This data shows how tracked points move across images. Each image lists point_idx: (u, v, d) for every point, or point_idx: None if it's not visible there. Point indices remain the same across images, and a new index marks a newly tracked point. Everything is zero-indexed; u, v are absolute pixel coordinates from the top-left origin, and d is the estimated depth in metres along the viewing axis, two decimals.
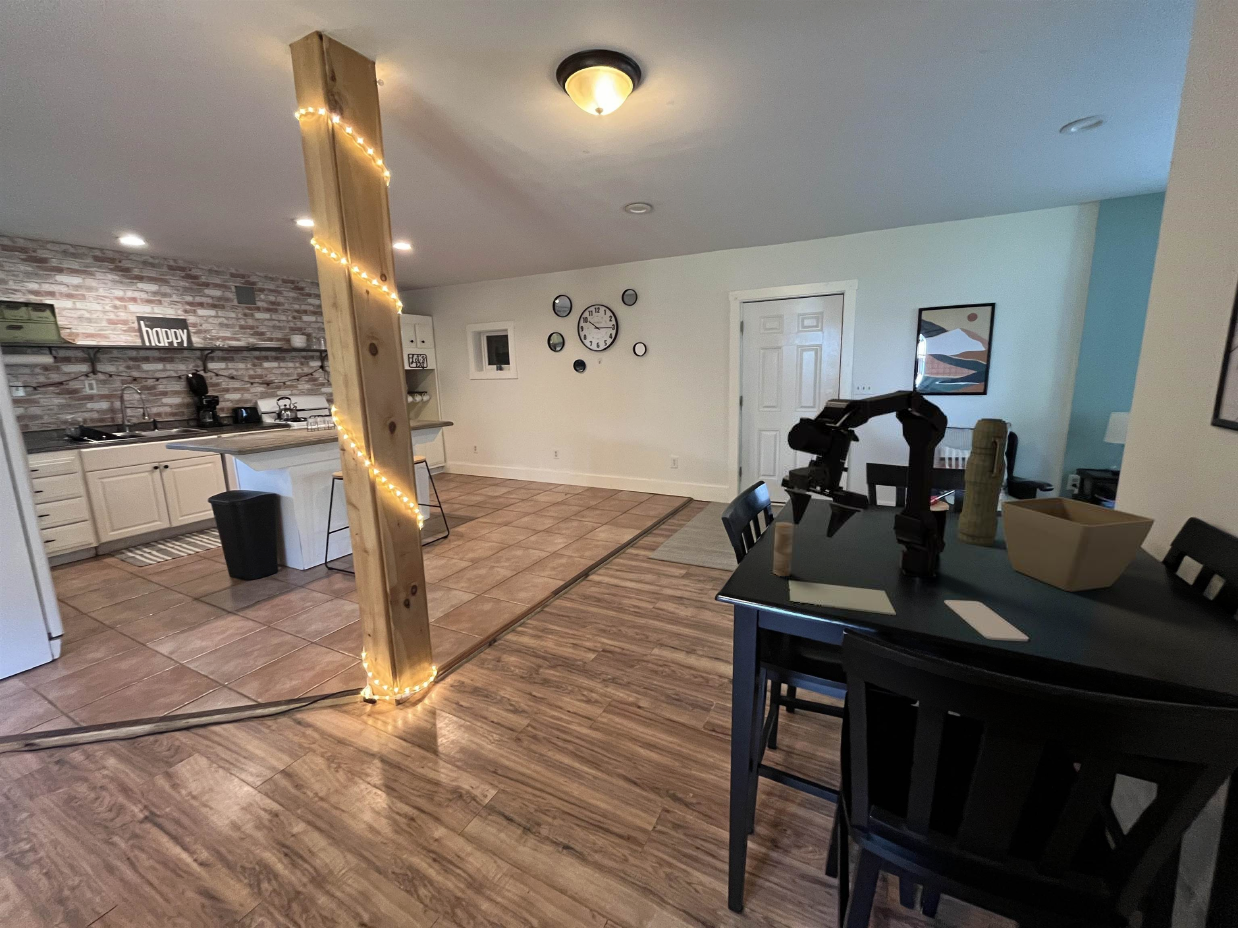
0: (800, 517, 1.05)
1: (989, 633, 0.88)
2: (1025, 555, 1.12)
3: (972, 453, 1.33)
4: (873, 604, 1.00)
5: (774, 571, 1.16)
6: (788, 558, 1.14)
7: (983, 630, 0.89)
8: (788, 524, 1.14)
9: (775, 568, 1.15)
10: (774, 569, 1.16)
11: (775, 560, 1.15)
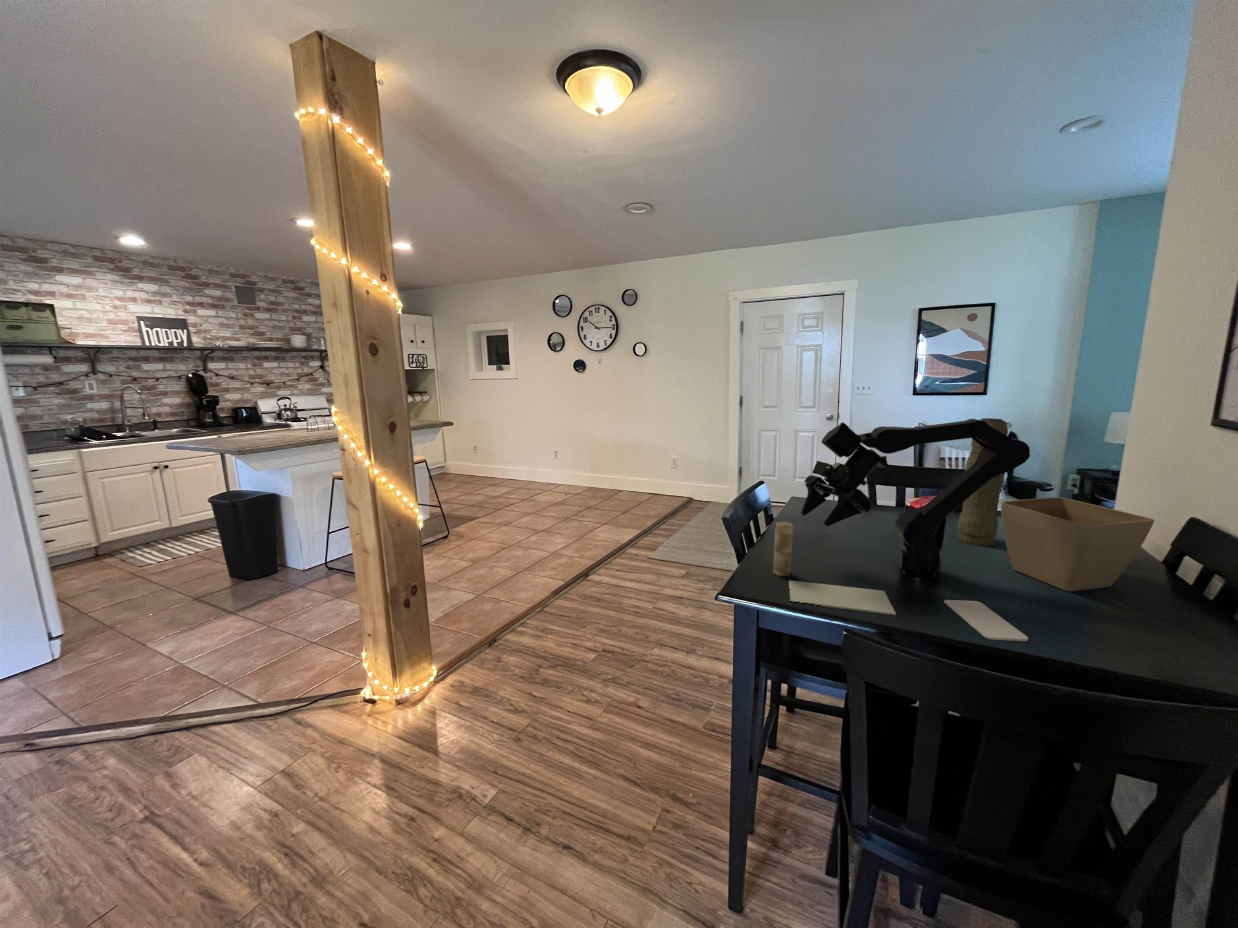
0: (808, 510, 1.19)
1: (989, 633, 0.88)
2: (1025, 555, 1.12)
3: (972, 453, 1.33)
4: (873, 604, 1.00)
5: (774, 571, 1.16)
6: (788, 558, 1.14)
7: (982, 630, 0.89)
8: (788, 524, 1.14)
9: (775, 568, 1.15)
10: (774, 569, 1.16)
11: (775, 560, 1.15)
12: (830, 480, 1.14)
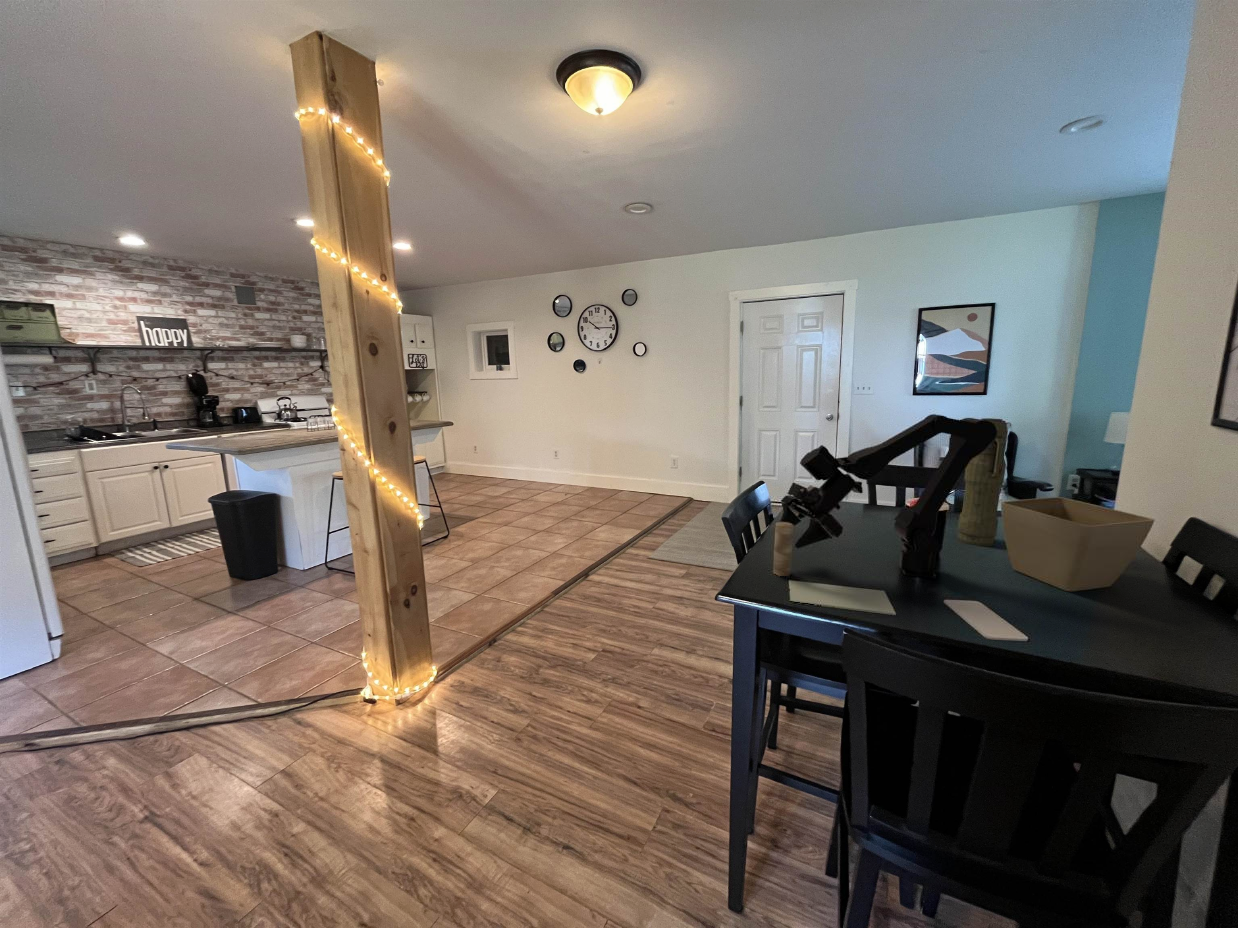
0: None
1: (989, 633, 0.88)
2: (1025, 555, 1.12)
3: None
4: (873, 604, 1.00)
5: (774, 571, 1.16)
6: (788, 558, 1.14)
7: (982, 630, 0.89)
8: (788, 524, 1.14)
9: (775, 568, 1.15)
10: (774, 569, 1.16)
11: (775, 560, 1.15)
12: (805, 502, 1.15)
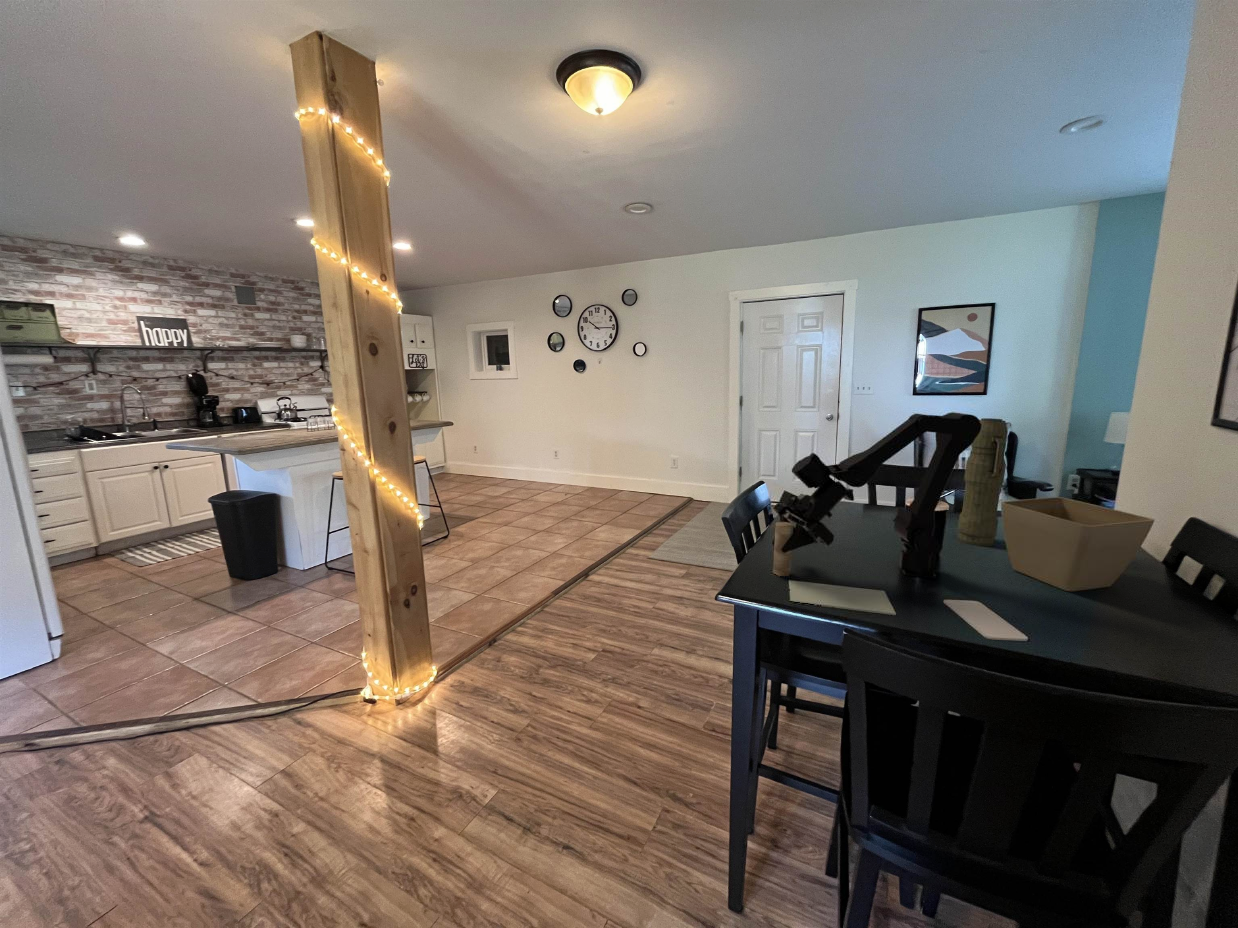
0: None
1: (989, 633, 0.88)
2: (1025, 555, 1.12)
3: (972, 453, 1.33)
4: (873, 604, 1.00)
5: (774, 571, 1.16)
6: (788, 558, 1.14)
7: (982, 630, 0.89)
8: (788, 524, 1.14)
9: (775, 568, 1.15)
10: (774, 569, 1.16)
11: (775, 560, 1.15)
12: (796, 510, 1.15)
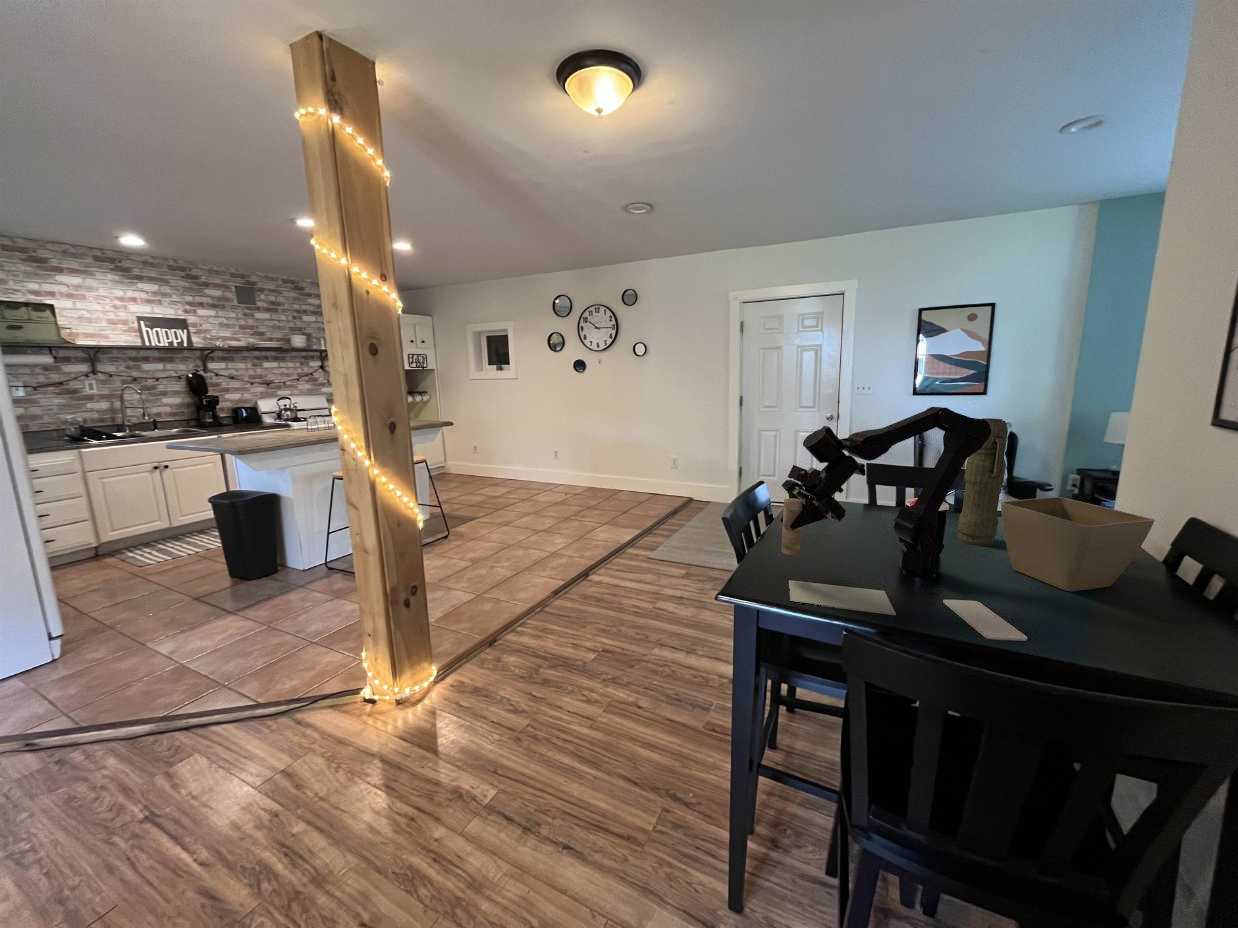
0: None
1: (988, 633, 0.88)
2: (1025, 555, 1.12)
3: None
4: (873, 604, 1.00)
5: (782, 549, 1.11)
6: (797, 535, 1.09)
7: (982, 630, 0.89)
8: (797, 500, 1.09)
9: (783, 546, 1.11)
10: (782, 547, 1.11)
11: (783, 538, 1.11)
12: (806, 486, 1.10)
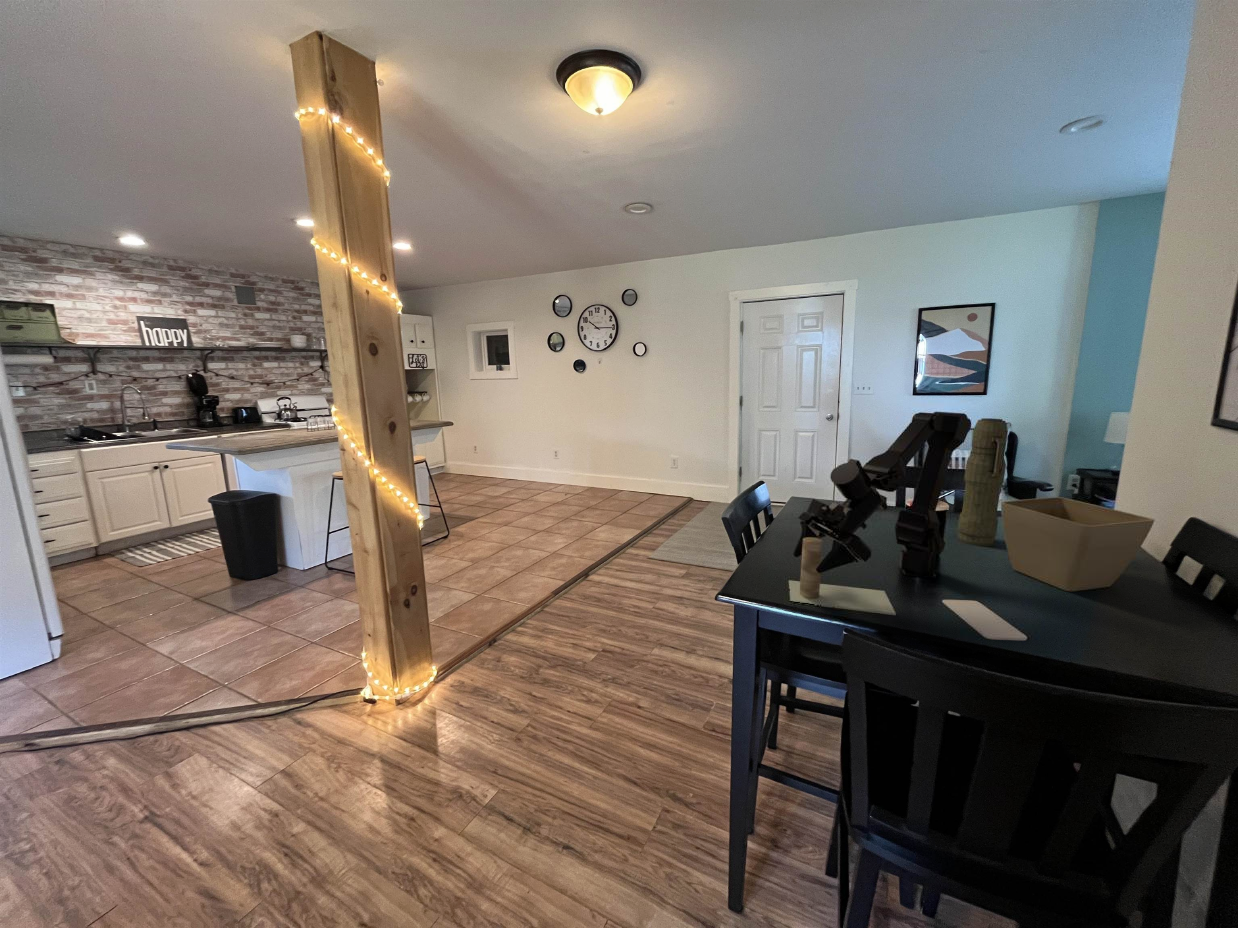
0: (801, 552, 1.07)
1: (988, 633, 0.88)
2: (1025, 555, 1.12)
3: (972, 453, 1.33)
4: (873, 604, 1.00)
5: (801, 592, 1.04)
6: (817, 578, 1.02)
7: (981, 629, 0.90)
8: (817, 540, 1.02)
9: (802, 588, 1.03)
10: (801, 590, 1.04)
11: (802, 580, 1.03)
12: (826, 521, 1.03)
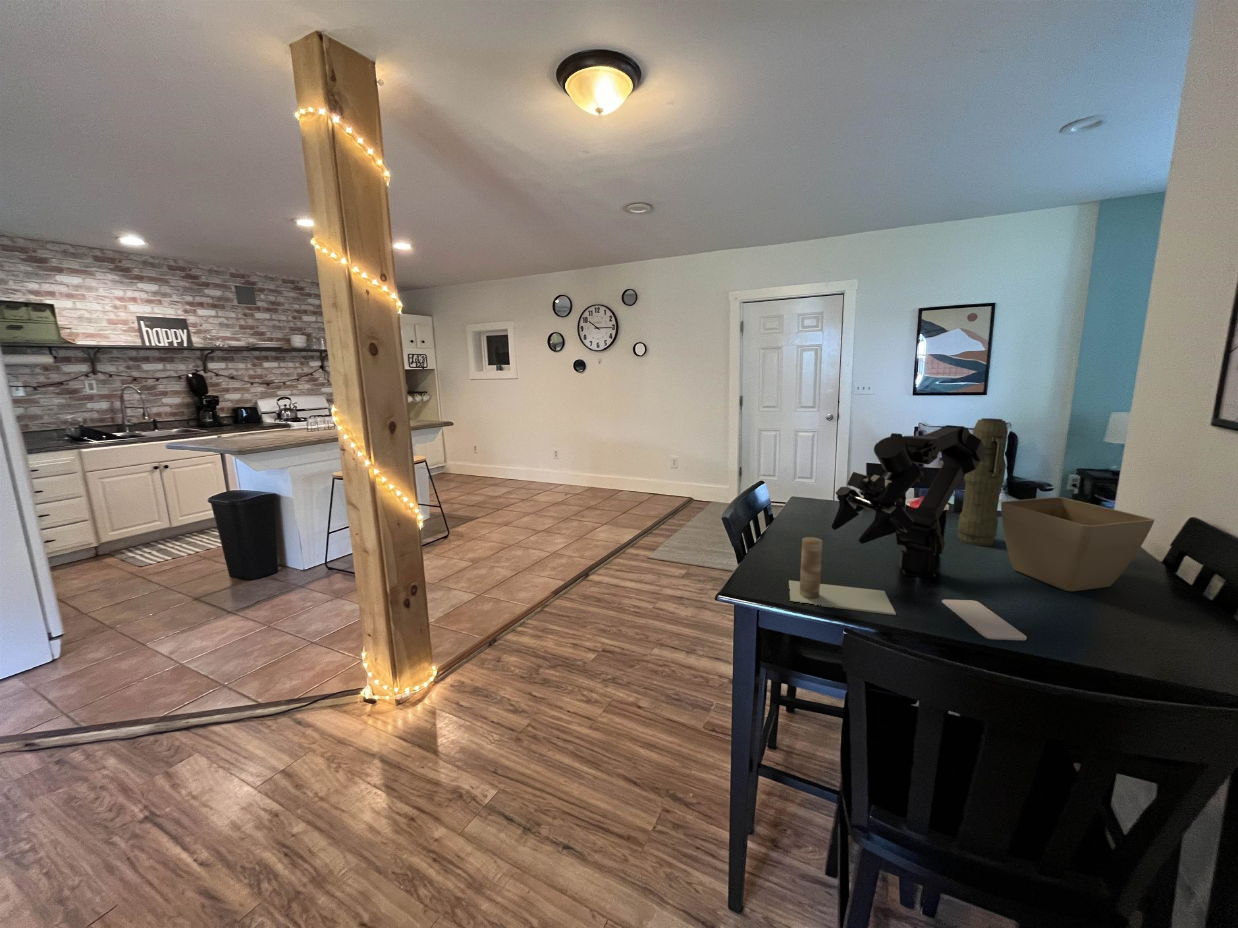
0: (839, 525, 1.10)
1: (988, 633, 0.88)
2: (1025, 555, 1.12)
3: None
4: (873, 604, 1.00)
5: (801, 592, 1.04)
6: (817, 578, 1.02)
7: (981, 629, 0.90)
8: (816, 540, 1.02)
9: (802, 588, 1.03)
10: (801, 590, 1.04)
11: (802, 580, 1.03)
12: (866, 493, 1.05)
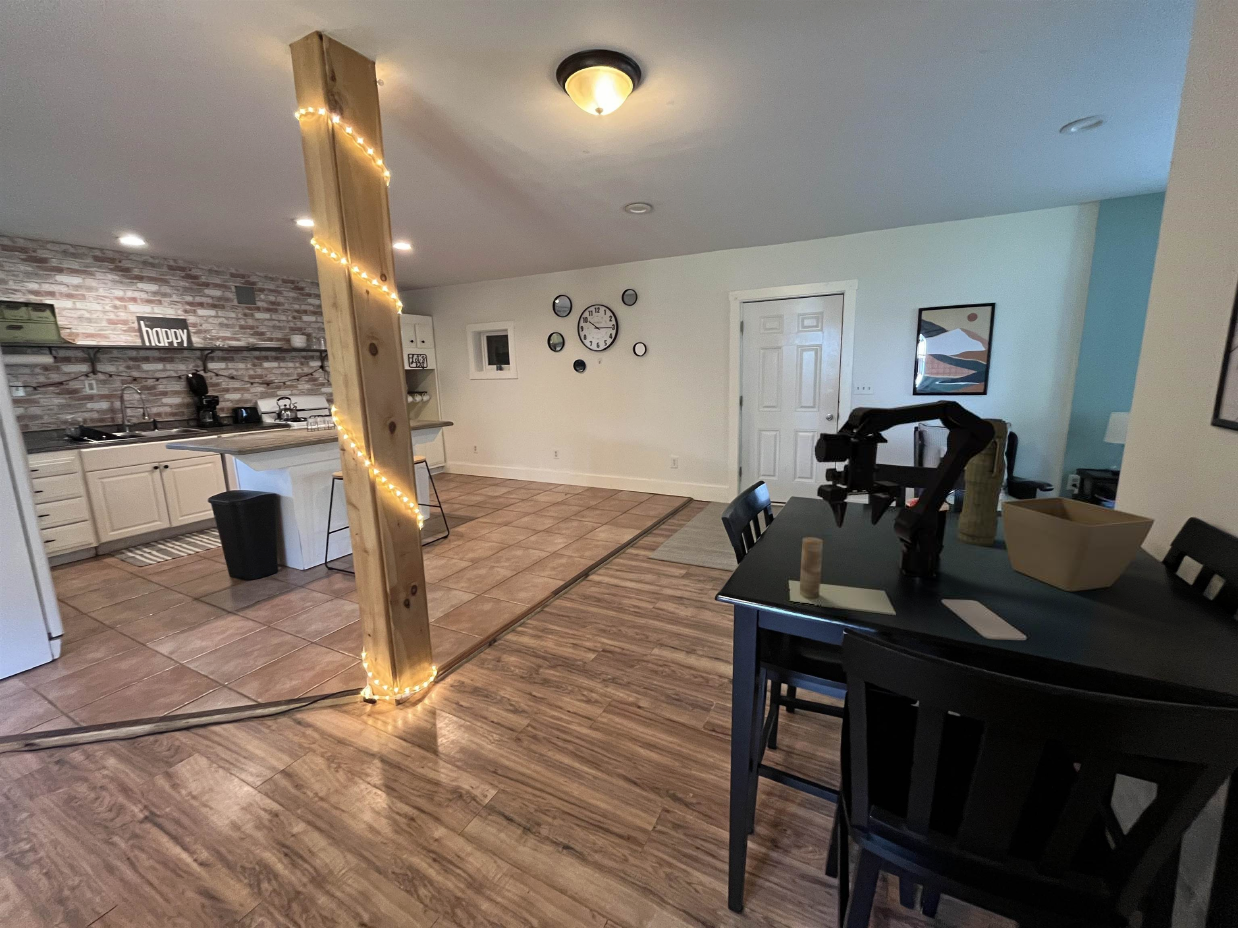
0: (875, 518, 1.14)
1: (988, 632, 0.88)
2: (1025, 555, 1.12)
3: None
4: (873, 604, 1.00)
5: (801, 592, 1.04)
6: (817, 578, 1.02)
7: (981, 629, 0.90)
8: (817, 540, 1.02)
9: (802, 588, 1.03)
10: (801, 590, 1.04)
11: (802, 580, 1.03)
12: None
